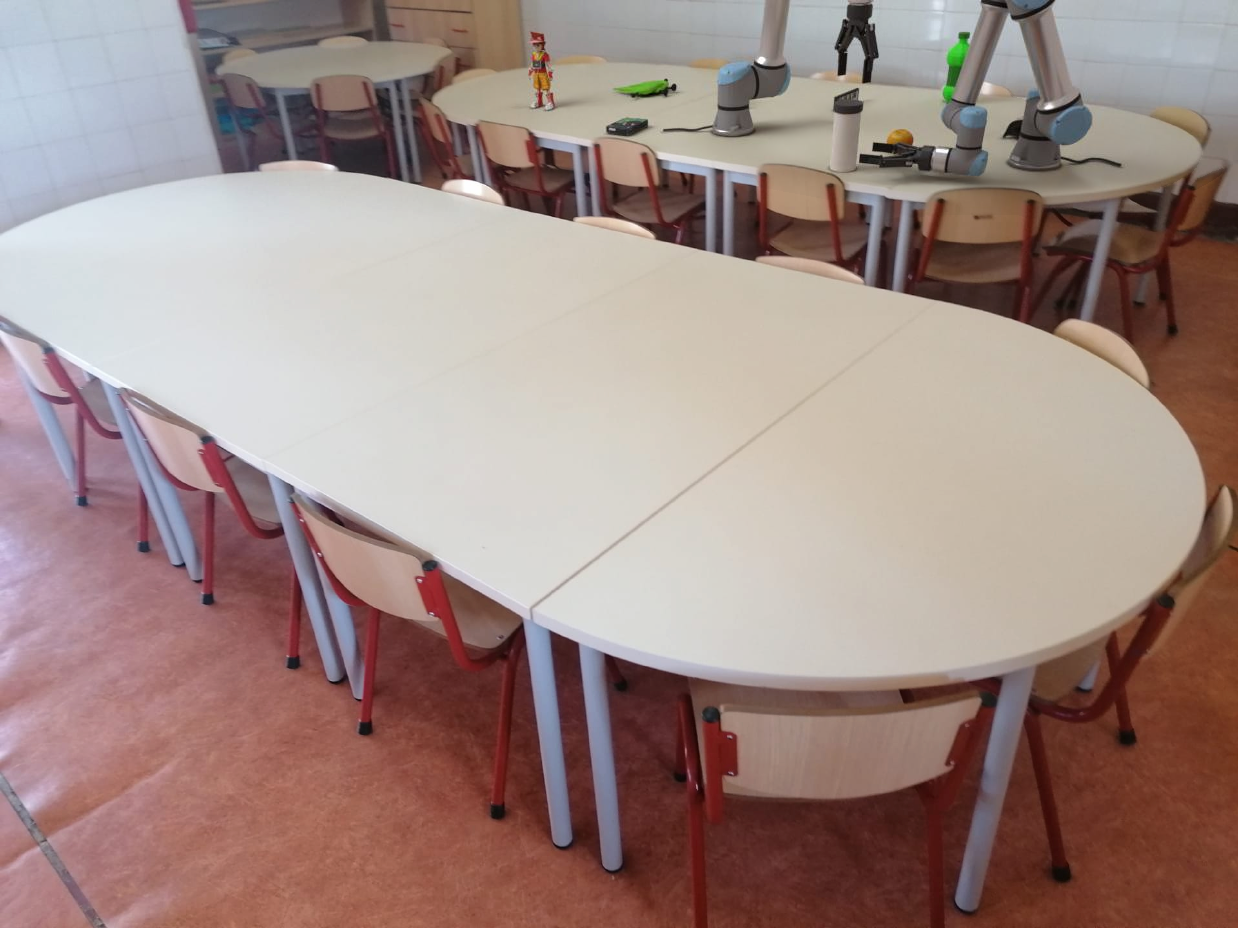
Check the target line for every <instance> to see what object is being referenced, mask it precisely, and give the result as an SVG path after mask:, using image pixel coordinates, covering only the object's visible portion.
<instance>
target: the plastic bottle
mask: <svg viewBox="0 0 1238 928" xmlns="http://www.w3.org/2000/svg"><path fill="white" fill-rule="evenodd" d="M970 36H971V32H970V31H959V32H958V36H957V39H958V42H957V43H956V44H954V45H953V46H952V47H951V48H950V49H949V50H948V52H947V54H946V63H947V64H948V69H947V70H948V71H947V76H946V77H947V78H946V84H945V85H944V87H943V90H942V97H943V99H944V100H945V101H946V102H947V104H948V103H950V101H951V98H952V95H953V92H954V89H955V86H956V83H957V80H958V77H959V75H960V72H961V69H962V66H963V63H964V60H965V57H966V54H967V51H968V48H969V45H970V43H969V42H968V41H969V39H970V38H971V37H970Z"/></svg>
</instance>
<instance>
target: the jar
mask: <svg viewBox="0 0 1238 928" xmlns="http://www.w3.org/2000/svg"><path fill="white" fill-rule="evenodd" d="M861 118H862V112H860V113H855V114H840V113H836V112H834V114H833V126H832V127H833V128H832V139H831V151H830V163H829V169H830V170H831V171H834V172H838V173H848V172H853V171H855V170H856V169H857V160H858V150H859V139H860V131H861V130H860V128H861Z"/></svg>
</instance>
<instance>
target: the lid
mask: <svg viewBox="0 0 1238 928" xmlns="http://www.w3.org/2000/svg"><path fill="white" fill-rule="evenodd" d="M833 106H834V110H833V112H834V113H835V112H836V113H840V114H855V113H860V112H861V113H862V112H863V111H864V102H863V101H862V100H861V99H860V100H859V99H858V100H854V99H844V100H838V101H835V102H834V101H833Z"/></svg>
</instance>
